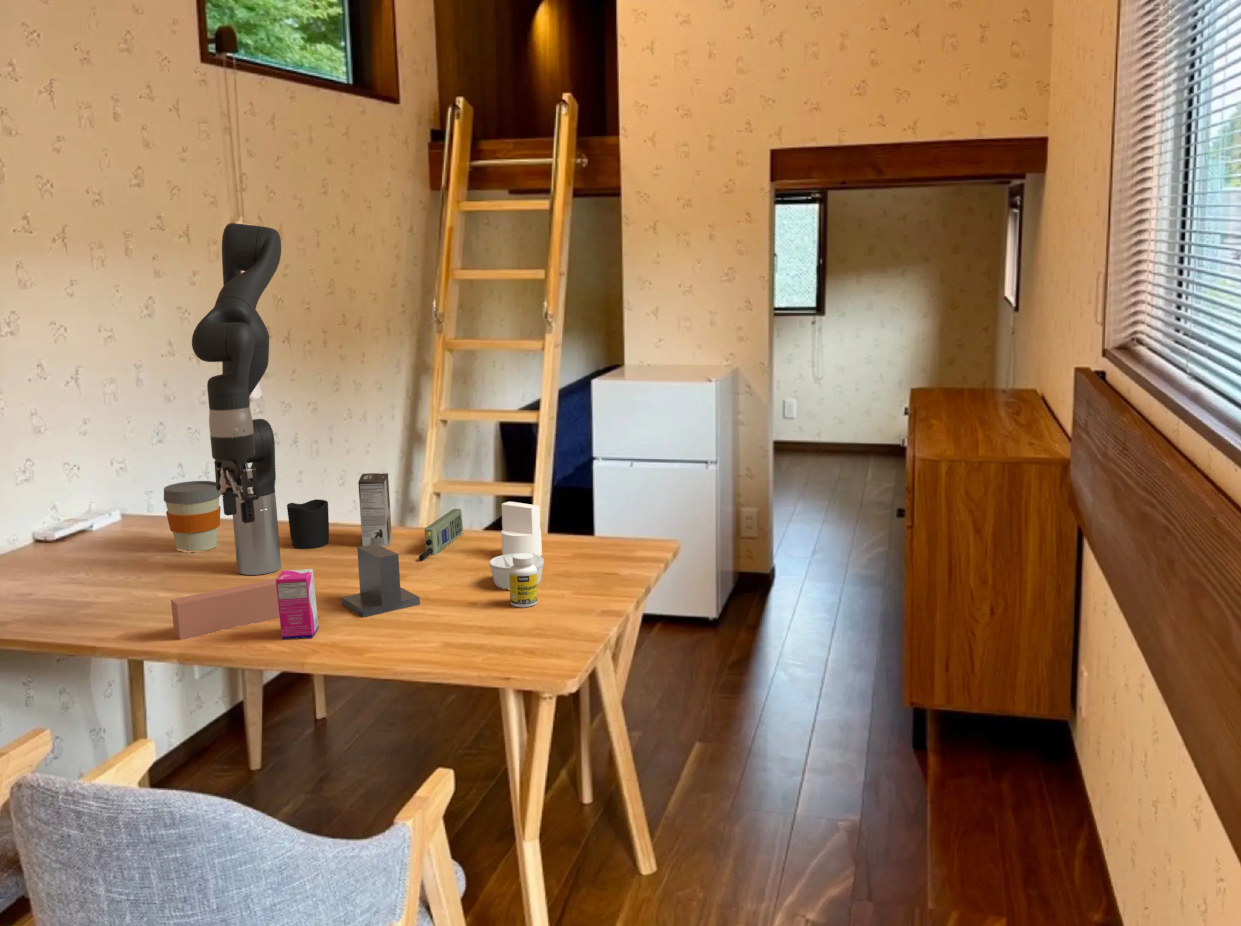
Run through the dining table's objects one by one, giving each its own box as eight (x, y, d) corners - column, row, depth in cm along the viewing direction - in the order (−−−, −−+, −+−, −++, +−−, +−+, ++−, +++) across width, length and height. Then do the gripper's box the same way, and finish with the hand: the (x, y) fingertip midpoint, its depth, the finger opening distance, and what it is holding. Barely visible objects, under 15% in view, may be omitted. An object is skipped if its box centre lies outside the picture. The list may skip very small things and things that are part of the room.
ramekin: (479, 585, 229) (478, 560, 228) (519, 573, 237) (518, 549, 236) (515, 596, 222) (514, 570, 221) (555, 583, 230) (554, 558, 229)
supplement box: (286, 629, 204) (282, 569, 202) (319, 627, 205) (314, 568, 203) (280, 639, 199) (275, 578, 196) (313, 638, 199) (308, 577, 197)
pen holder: (300, 539, 268) (297, 499, 266) (337, 539, 267) (334, 499, 265) (283, 549, 259) (280, 508, 257) (321, 550, 258) (318, 508, 256)
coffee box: (365, 538, 268) (361, 473, 265) (392, 537, 268) (388, 472, 265) (361, 548, 259) (357, 481, 256) (389, 546, 260) (385, 480, 256)
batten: (174, 636, 202) (170, 599, 201) (299, 608, 217) (297, 574, 215) (180, 641, 199) (176, 604, 198) (306, 612, 214) (304, 578, 213)
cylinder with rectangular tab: (549, 554, 251) (548, 503, 249) (525, 564, 244) (524, 511, 241) (518, 549, 256) (516, 498, 254) (494, 558, 248) (492, 506, 246)
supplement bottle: (516, 609, 213) (514, 561, 211) (506, 602, 218) (504, 554, 216) (542, 605, 215) (540, 557, 213) (531, 597, 220) (529, 550, 218)
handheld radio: (465, 534, 271) (429, 563, 246) (452, 535, 271) (415, 563, 247) (463, 508, 269) (426, 534, 245) (450, 508, 270) (412, 534, 246)
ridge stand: (341, 604, 218) (338, 550, 216) (397, 592, 225) (394, 540, 223) (363, 617, 210) (359, 561, 208) (419, 604, 217) (417, 550, 215)
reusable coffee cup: (213, 554, 255) (207, 491, 252) (159, 555, 256) (153, 492, 253) (232, 540, 268) (227, 480, 265) (181, 541, 268) (175, 480, 265)
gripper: (267, 434, 198) (274, 521, 201) (236, 425, 209) (244, 508, 212) (226, 439, 194) (234, 528, 197) (197, 430, 204) (205, 515, 207)
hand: (239, 518), depth 204 cm, fingers open, 8 cm apart
